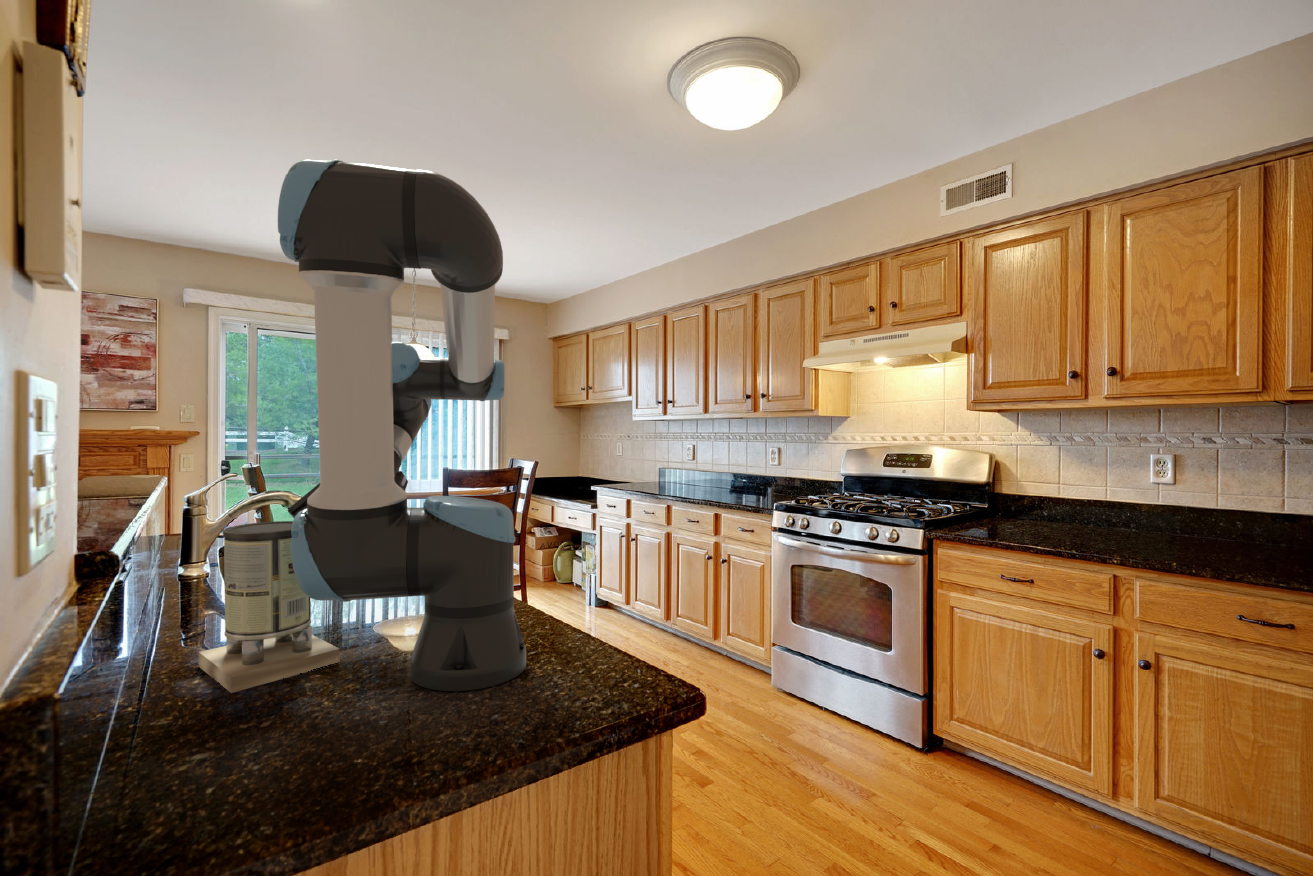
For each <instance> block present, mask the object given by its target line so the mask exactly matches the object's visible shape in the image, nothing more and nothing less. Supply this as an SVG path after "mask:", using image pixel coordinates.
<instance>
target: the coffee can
mask: <svg viewBox="0 0 1313 876" xmlns="http://www.w3.org/2000/svg"><path fill="white" fill-rule="evenodd" d="M292 523H293V520H280V521H279V520H276V521H263V522H253V523H244V524H239V525H234V526H230V527H227V528H224V529H222V536H223V547H224V548H223V549H224V550H223V554H224V556H223V558H224V559H223V561H224V567H223V568H224V574H223V575H224V630H225V631H224V636H225V638H226V637H227V638H229V639H233V640H262V639H270V638H275V637H281V636H286V635H289V634H292V633H296V632H298V631H301V630H303V629H305V628H307V627H308V626H309V625H310V626H311V623H312V618H311V616H312V615H311V614H312V609H311V606H312V605H311V602H312V601H311V599H312V598H310V597H309V596H307V595H306V594H305V592H303V590H302V589H301V588H300V586H299V584H298V582H297V579H296V576H295V573H294V569H293V564H292V558H291V546H290V543H291V539H292V534H291V529H292Z"/></svg>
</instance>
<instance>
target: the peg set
mask: <svg viewBox="0 0 1313 876" xmlns="http://www.w3.org/2000/svg"><path fill="white" fill-rule="evenodd" d="M312 635H313V626H312V625H311V624H310V625H309V626H308V627H307V628H305V629H303V630H301V631H298V632H296V633H292V634H289V635H286V636H281V637H275V642H277V643H284V642H289V641H292V652H295V653H301V652H306V651H309V650H311V649H312ZM225 638H226V646H227V654H239V653H242V664H243V665H255V664H259V663H261V662H263V661H264V639H262V640H233V639H229V638H227V637H226V636H225Z"/></svg>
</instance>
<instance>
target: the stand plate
mask: <svg viewBox="0 0 1313 876" xmlns="http://www.w3.org/2000/svg"><path fill="white" fill-rule="evenodd" d="M340 649H341V648H339V647H337V646H335V645H333V644H331V643H329V642H328V641H325V640H323V639H322V638H320V637H319V636H318V637H317V636H316V635H314V634H312V649H311V650H309V651H306V652H301V653H295V652H292V641H289V642H284V643H277V642H275V638H270V639H264V661H263V662H261V663H259V664H255V665H243V664H242V653H239V654H227V645H224V646H220V647H214V648H211V649H210V648H209V649H206V650H205V649H204V650H201V651H198V667H199V668H200V669H201V670H202V671H204V672H205V674H207V675H209V677H211V678H212V679H213V678H214V679H213V680H214V681H216V682H217V683H218V682H219V683H220V684H219V683H218V684H219V685H221V686H222V687H223V688H225V689H226V690H227V692H230V694H233V693H237V692H240V691H243V690H246V689H251V688H254V687H257V686H261V685H264V684H265V685H266V684H268V683H269V684H270V683H272V682H276V681H279V680H283V678H284V679H287V678H291V677H293V676H294V677H295V676H298V675H300V673H302V674H305V673H308V671H309V672H311V670H312V671H314V670H313V669H316V668H320V667H322V666H325V665H329V664H334V663H338V662H339V663H340ZM339 663H338V664H339ZM334 665H335V664H334ZM320 669H321V668H320ZM316 670H317V669H316Z"/></svg>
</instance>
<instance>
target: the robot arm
mask: <svg viewBox="0 0 1313 876" xmlns="http://www.w3.org/2000/svg"><path fill="white" fill-rule="evenodd" d="M277 206H278V207H277V231H278V233H279V234H280V235H279V244H280V248H281V251H282V253H283V255H284V256H285V257H286V258H287V259H289V260H291V261H294V262H295V263H298V274H299V277H300V278H301V279H303V281H305V282H306V283H307V285H308V286H309V287H311V289H312V290H313V294H314V295H313V299H314V300H313V301H314V325H315V328H314V329H315V330H314V331H315V357H316V358H315V359H316V362H315V363H316V387H317V389H316V390H317V391H316V392H317V394H316V395H317V417H318V419H317V421H318V447H319V475H320V476H319V477H320V479H319V480H320V481H319V483H318V484H316V486H314V487H313V488H312V489H310V490H309V491H308V492H307V493H305V494H304V495H303V496H302V497H301V498H299V499H298V500H297V501H296V502H295V503H294V504H292V505H291V506H290V507H289V508H288V509H287V513H289V515H290V516H292V517H291V518H293V520H292V521H293V523H292V529H291V534H292V539H291V543H290V546H291V558H292V564H293V569H294V573H295V576H296V579H297V582H298V584H299V586H300V588H301V589H302V590H303V592H305V594H306V595H307V596H309V597H310V598H311V599H312V600H315V601H320V602H321V601H340V602H343V603H348V602H351V601H358V600H359V601H360V600H373V599H374V600H376V599H377V600H379V599H389V598H390V599H391V598H392V599H393V598H409V597H423V598H424V615H423V616H424V617H423V620H422V622H421V623H422V624H421V625H420V629H419V632H418V635H417V637H416V640H415V644H414V646H413V651H412V654H411V656H410V661H409V665H410V666H409V668H410V669H409V677H410V679H411V681H412V682H413V683H414V684H416V685H417V686H419V687H422V688H425V689H429V690H434V691H443V692H465V691H472V690H473V691H474V690H481V689H487V688H490V687H494V686H498V685H501V684H504V683H506V682H508V681H511V680H513V679H515V678H516V677H518V676H520V674H522V673H523V672H524V671H525V670H526V667H527V648H526V647H527V646H526V643H525V642H524V641H525V640H524V638H523V635H522V631H521V629H520V625H519V622H518V619H517V616H516V613H515V608H514V607H515V605H514V601H515V598H514V597H515V593H514V592H515V589H514V588H515V587H514V585H515V583H514V578H515V576H514V573H515V572H514V571H515V570H514V567H515V566H514V562H515V561H514V543H515V542H516V539H517V538H516V536H515V529H514V515H513V512H512V510H511V508H509V507H508V506H507V505H505V504H503V503H501V502H498V501H494V500H490V499H489V500H488V499H483V498H475V497H468V496H457V495H431V496H430V495H429V496H427V497H425V500H424V502H423V504H422V505H423V507H409V506H408V494H407V492H406V489H407V486H408V484H409V481H408V479H407V477H406V475H405V474H404V472H403V471H402V470H400V468H401V466H402V463H403V462H404V460H405V458H406V456H407V454H408V452H409V451H410V448H411V447H412V445H413V442H414V440H415V438H416V437H417V435H418V433H419V431H420V429H421V428H422V426H423V424H424V422H425V421H426V420H427V418H428V416H429V413H430V411H431V410H430V409H431V407H432V400H440V401H441V400H447V401H448V400H451V401H453V400H454V401H479V402H485V401H500V400H502V399H503V398H504V396H505V363H504V361H502V359H501V360H500V359H495V313H496V312H495V311H496V309H495V307H496V306H495V305H496V301H495V300H496V299H495V298H496V284H498V282H500V281H499V280H501V277H502V275H503V267H504V265H503V264H504V255H503V253H504V251H503V247H502V242H501V239H500V236H499V232H498V231H497V229H496V226H495V225H494V223H493V221H492V219H491V218H490V216H489V214H488V213H487V211H486V210H485V208H484V207H483V206H482V205H481V204H480V203H479V201H478V200H477V199H476V198H475V197H474V196H473V195H472V194H471V193H470V192H469V191H468V190H466V189H465V187H463V186H462V185H460V184H458V183H457V182H455V181H454V180H452V179H450V178H449V177H447V176H444V175H442V174H440V173H438V172H435V171H431V170H425V169H416V170H415V169H407V168H399V167H393V166H384V165H379V164H378V165H377V164H376V165H375V164H370V163H361V162H352V161H346V160H345V161H344V160H339V159H333V160H332V159H331V160H317V159H303V160H299V161H297V162H295V163H294V164H293V165H292V166H291V167H290V168H289V170H288V172H287V173H286V174H285V177H284V179H283V182H282V184H281V188H280V193H279V198H278V205H277ZM405 269H420V270H421V269H423V270H425V269H426V270H430V271H431V275H432V276H433V277H434V279H435V280H436V282H437V283H438V284H439V287H440V296H441V297H440V298H441V304H442V315H443V323H444V333H445V344H446V350H447V357H435V356H433V357H431V356H430V357H429V356H419V353H418V351H417V350H416V349H415V348H414V346H412V345H410V344H406V343H404V342H401V341H393V324H392V323H393V322H392V321H393V320H392V319H393V318H392V313H393V312H392V308H393V307H392V297H393V295H394V293H396V291H398V289H400V288H401V287H402V286H403V285H405Z"/></svg>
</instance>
